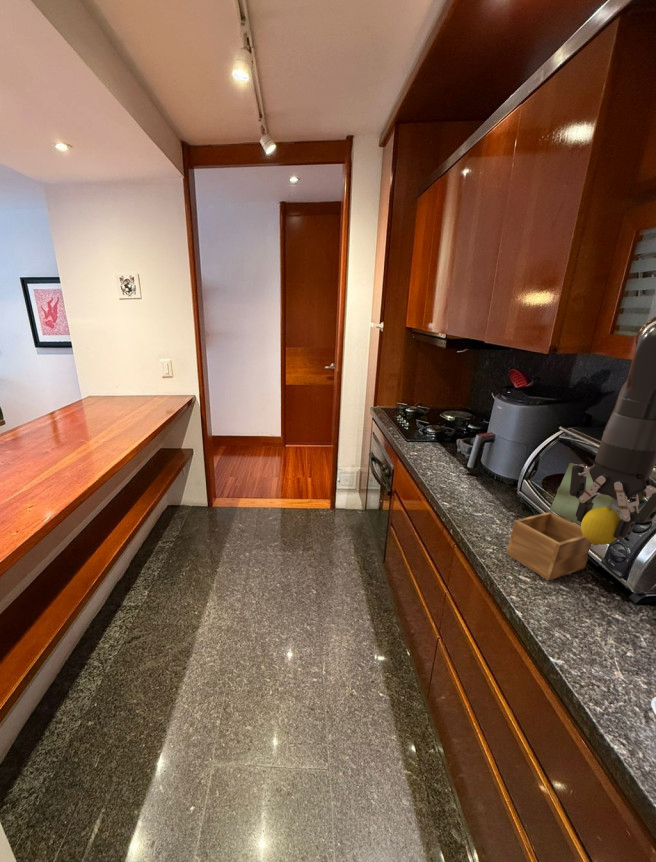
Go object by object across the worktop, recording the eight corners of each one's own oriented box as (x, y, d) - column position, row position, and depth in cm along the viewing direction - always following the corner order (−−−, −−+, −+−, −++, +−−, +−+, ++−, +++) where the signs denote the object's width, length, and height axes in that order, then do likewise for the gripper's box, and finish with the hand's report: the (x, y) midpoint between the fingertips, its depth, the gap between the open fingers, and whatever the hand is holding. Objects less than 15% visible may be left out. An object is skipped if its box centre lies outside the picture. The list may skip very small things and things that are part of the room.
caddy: (548, 581, 92) (560, 544, 88) (505, 554, 102) (514, 520, 98) (584, 569, 96) (597, 534, 92) (539, 544, 106) (549, 511, 102)
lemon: (569, 540, 73) (581, 503, 70) (587, 534, 75) (600, 497, 72) (601, 556, 68) (616, 517, 65) (620, 549, 70) (635, 510, 67)
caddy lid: (621, 480, 87) (623, 480, 88) (569, 462, 98) (571, 463, 98) (596, 532, 92) (598, 532, 92) (549, 510, 102) (551, 510, 102)
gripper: (701, 452, 59) (660, 545, 65) (599, 427, 72) (573, 507, 78) (672, 458, 57) (632, 555, 63) (571, 431, 69) (547, 514, 75)
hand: (599, 528), depth 70 cm, fingers closed on lemon, 5 cm apart
